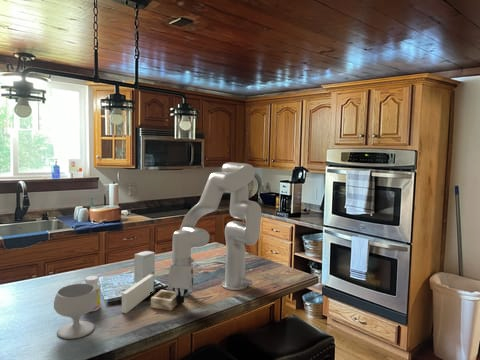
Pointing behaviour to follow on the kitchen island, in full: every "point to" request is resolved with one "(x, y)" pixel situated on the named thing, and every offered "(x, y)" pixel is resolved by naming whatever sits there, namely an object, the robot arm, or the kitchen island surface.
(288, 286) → the kitchen island surface
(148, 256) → the skincare box
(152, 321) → the kitchen island surface
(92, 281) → the supplement bottle
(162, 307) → the light wooden square frame
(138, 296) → the wall
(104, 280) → the kitchen island surface
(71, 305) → the chalice
